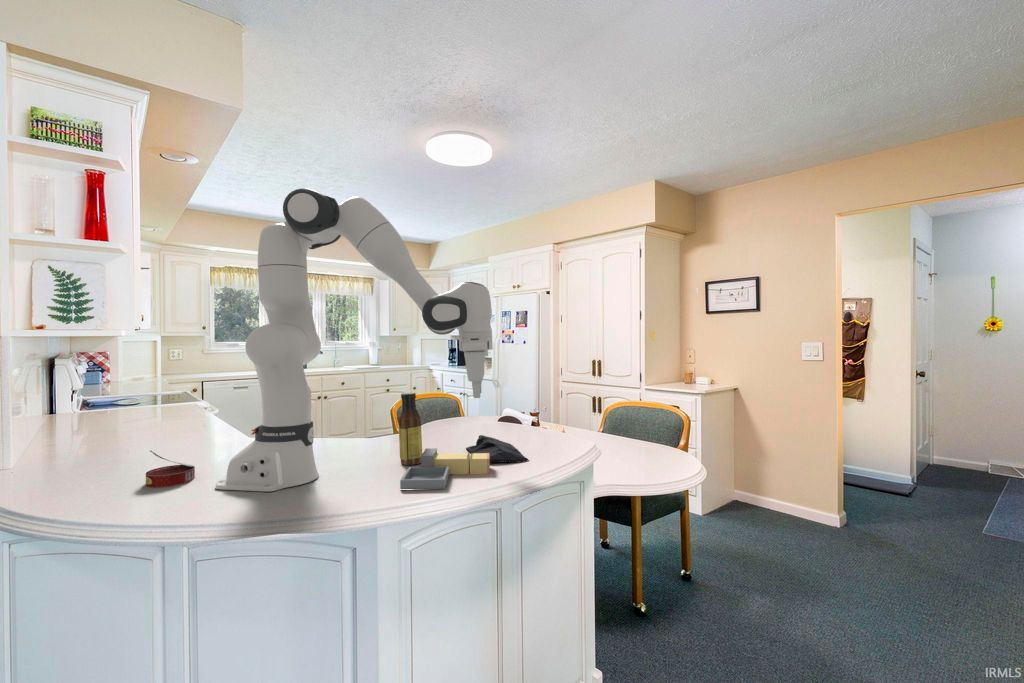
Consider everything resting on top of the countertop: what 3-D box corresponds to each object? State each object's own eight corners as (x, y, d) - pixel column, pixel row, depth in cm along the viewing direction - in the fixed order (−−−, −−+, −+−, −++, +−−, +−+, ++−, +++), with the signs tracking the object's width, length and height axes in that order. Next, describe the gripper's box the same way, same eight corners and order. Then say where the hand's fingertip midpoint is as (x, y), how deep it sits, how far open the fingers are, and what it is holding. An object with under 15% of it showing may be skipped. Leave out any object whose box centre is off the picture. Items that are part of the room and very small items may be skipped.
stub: (469, 474, 118) (469, 458, 118) (470, 468, 124) (470, 453, 124) (489, 474, 118) (489, 458, 118) (489, 467, 124) (489, 452, 124)
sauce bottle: (425, 460, 132) (424, 391, 132) (418, 466, 126) (418, 394, 126) (403, 460, 133) (402, 391, 133) (395, 465, 127) (395, 394, 127)
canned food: (156, 498, 116) (160, 459, 120) (201, 490, 118) (203, 452, 122) (131, 490, 106) (136, 447, 110) (180, 481, 108) (184, 440, 112)
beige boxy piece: (421, 476, 117) (421, 455, 117) (425, 467, 125) (425, 448, 125) (468, 475, 117) (468, 455, 117) (470, 466, 125) (469, 447, 125)
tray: (400, 490, 105) (400, 480, 105) (409, 476, 117) (409, 466, 117) (444, 489, 106) (444, 479, 106) (449, 475, 117) (449, 466, 117)
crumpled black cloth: (480, 468, 126) (480, 450, 126) (464, 450, 147) (464, 435, 147) (532, 463, 130) (532, 446, 130) (509, 446, 151) (509, 432, 151)
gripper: (466, 343, 131) (467, 391, 131) (461, 344, 111) (463, 401, 111) (488, 343, 131) (489, 391, 131) (487, 343, 111) (489, 400, 111)
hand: (477, 395), depth 121 cm, fingers open, 8 cm apart
